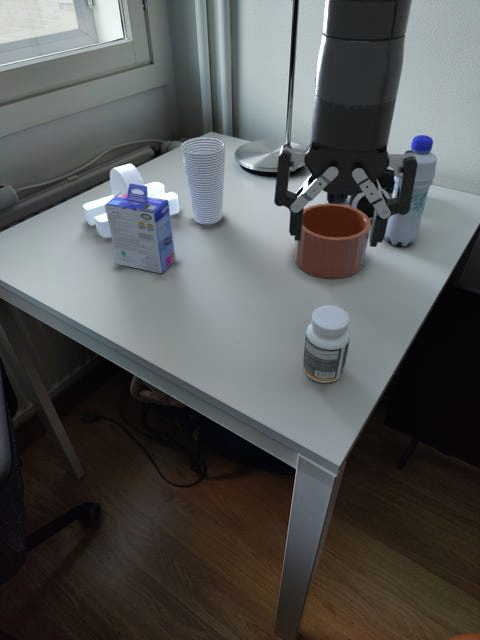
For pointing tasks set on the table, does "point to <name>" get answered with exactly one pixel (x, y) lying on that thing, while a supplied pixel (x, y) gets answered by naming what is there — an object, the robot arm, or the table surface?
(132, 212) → the ink cartridge box
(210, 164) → the cup
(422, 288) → the table surface
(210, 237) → the table surface
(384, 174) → the headphones
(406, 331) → the table surface
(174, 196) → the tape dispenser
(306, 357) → the pill bottle
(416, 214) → the bottle
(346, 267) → the crock
